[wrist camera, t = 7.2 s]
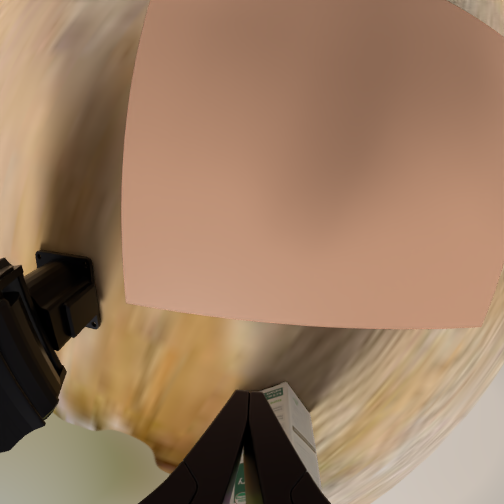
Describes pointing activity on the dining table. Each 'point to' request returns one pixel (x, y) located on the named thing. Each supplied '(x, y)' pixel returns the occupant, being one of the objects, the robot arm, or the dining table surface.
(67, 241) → the dining table surface
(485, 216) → the lid
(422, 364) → the dining table surface
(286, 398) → the syrup box
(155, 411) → the dining table surface
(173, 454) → the dining table surface
